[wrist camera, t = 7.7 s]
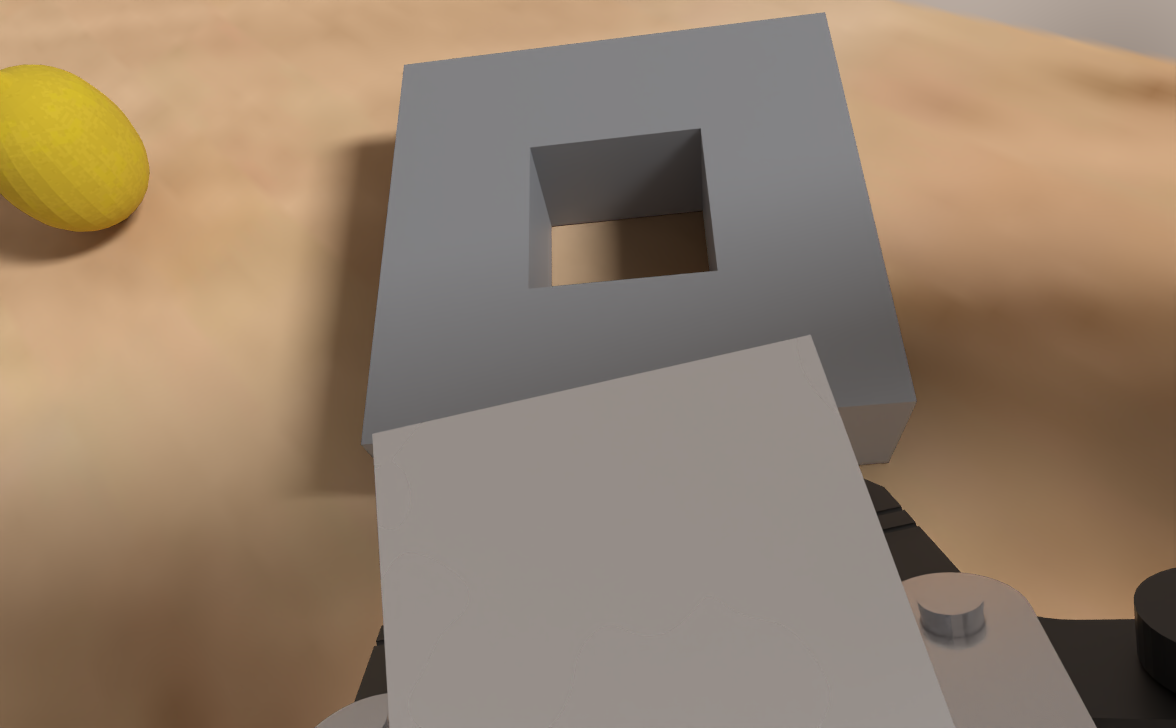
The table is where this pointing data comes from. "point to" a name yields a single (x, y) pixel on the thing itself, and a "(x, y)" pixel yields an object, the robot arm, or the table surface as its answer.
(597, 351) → the well block
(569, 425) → the steel bar
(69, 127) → the lemon
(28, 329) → the table surface
